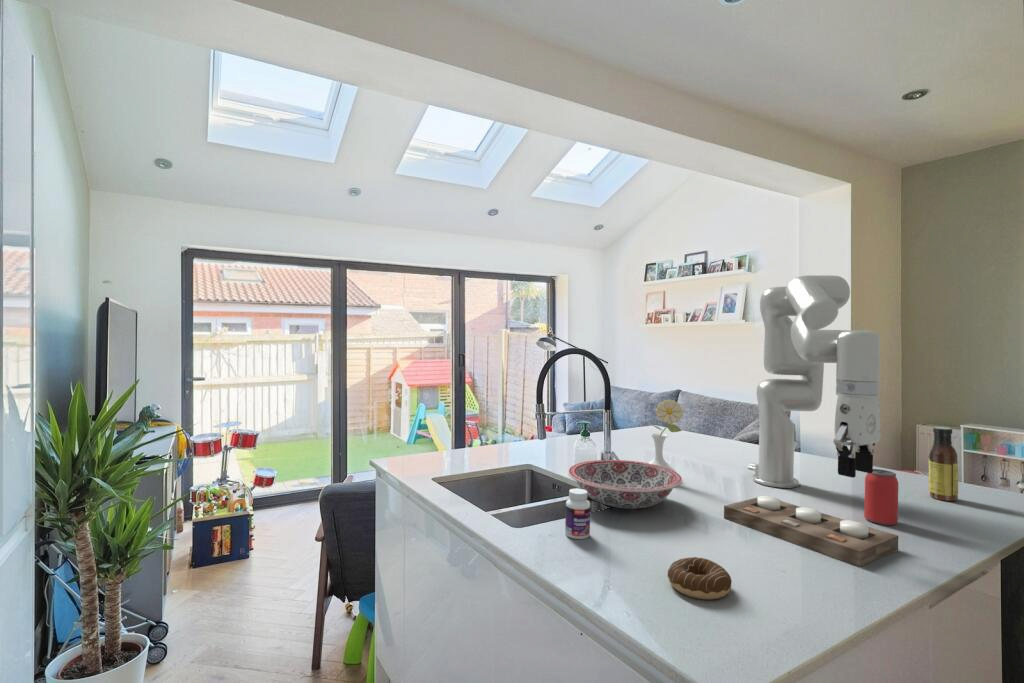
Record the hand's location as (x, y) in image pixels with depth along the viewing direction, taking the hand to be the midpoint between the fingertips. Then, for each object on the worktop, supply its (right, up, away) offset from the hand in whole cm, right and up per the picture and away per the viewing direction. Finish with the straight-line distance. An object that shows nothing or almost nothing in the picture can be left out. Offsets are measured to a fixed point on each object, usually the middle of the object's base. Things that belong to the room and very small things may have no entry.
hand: (855, 473), depth 107 cm
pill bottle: (-58, -15, +4) cm, 60 cm away
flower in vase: (-27, -15, +49) cm, 58 cm away
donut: (-40, -16, -18) cm, 47 cm away
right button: (0, -13, 0) cm, 13 cm away
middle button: (-5, -13, +8) cm, 16 cm away
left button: (-10, -13, +16) cm, 23 cm away
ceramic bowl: (-43, -15, +26) cm, 53 cm away
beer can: (+17, -16, +16) cm, 28 cm away
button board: (-6, -15, +8) cm, 18 cm away
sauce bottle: (+48, -16, +34) cm, 61 cm away
